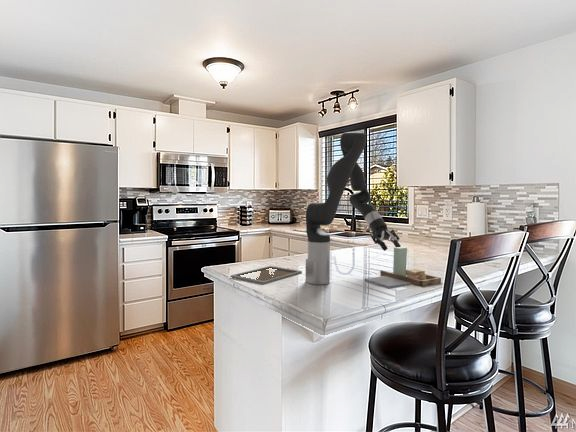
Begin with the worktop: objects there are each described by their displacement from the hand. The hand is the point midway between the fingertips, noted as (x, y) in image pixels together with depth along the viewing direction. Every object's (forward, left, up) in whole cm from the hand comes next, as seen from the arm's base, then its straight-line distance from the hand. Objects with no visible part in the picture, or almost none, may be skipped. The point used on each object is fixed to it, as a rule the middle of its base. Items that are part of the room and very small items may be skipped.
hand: (392, 249), depth 164 cm
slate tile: (-14, -11, -12) cm, 21 cm away
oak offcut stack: (0, -14, -12) cm, 18 cm away
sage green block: (0, -5, -12) cm, 13 cm away
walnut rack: (0, -10, -12) cm, 15 cm away
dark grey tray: (-51, +25, -12) cm, 58 cm away
